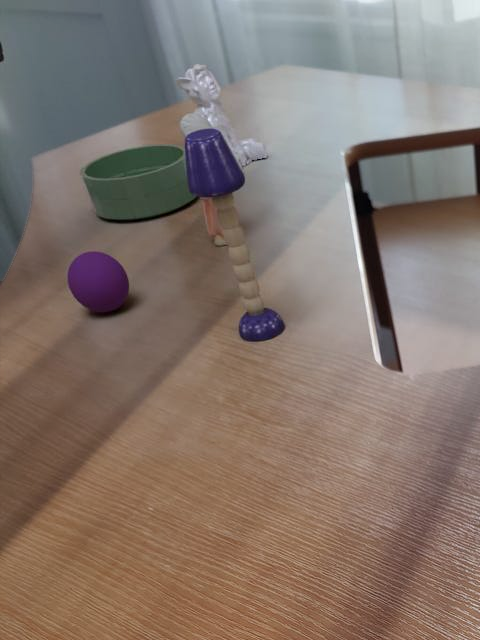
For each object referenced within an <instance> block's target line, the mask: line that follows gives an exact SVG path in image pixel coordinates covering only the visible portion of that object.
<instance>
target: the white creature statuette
mask: <svg viewBox="0 0 480 640" xmlns="http://www.w3.org/2000/svg"><path fill="white" fill-rule="evenodd" d="M176 84H177V86H178V87H179V88H180V89H182V90H184V92H186V94H187V96H188V97H189V99H190V100H191V101H192V103H194V105H196V108H195V109H194V111H193V113H196V114H199V115H201V116H202V117H204V118H206V119H207V120H208V121H209V123H210V124H211V126H212V127H213V128H214V129H217V130H219V131H220V132H221V133H222V135H223V136H224V138H225V140H226V142H227V144H228V146H229V147H230V149H231V151H232V153H233V155H234V157H235V158H236V160H237V162H238V164H239V166H240V168H241V170H242V171H243V167H246V165H247V166H248V165H249V164H250V163H252V162H253V161H252V160H254V161H258V160H257V159H262V158H266V157H267V158H268V156H267V150H266V149H267V148H266V145H265V143H264V142H263V141H258V140H256V139H254V138H252V137H249V138H243V139H240V140H239V138H237V132H236V131H235V130H234V128H233V127H232V122H231V121H230V118H229V117H228V114H227V112H226V110H225V109H224V108H223V104H222V102H221V91H222V88H221V86H220V85H219V82H218V81H217V79H216V78H215V75H214V73H213V72H212V71H211V70H209V69H208V68H207V65H206V64H199V63H196V64H194V65H193V67H190V68H188V69H187V70H186V71H185V73H184V77H177V79H176ZM262 160H263V159H262Z"/></svg>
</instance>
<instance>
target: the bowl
mask: <svg viewBox="0 0 480 640" xmlns="http://www.w3.org/2000/svg"><path fill="white" fill-rule="evenodd" d="M79 176H80V179H81V181H82V183H83V186H84V188H85V191H86V193H87V196H88V199H89V201H90V204H91V207H92V209H93V212H94V213H95V214H96V215H97V216H98V217H100V218H103V219H106V220H119V221H136V220H137V221H138V220H144V219H148V218H154V217H158V216H162V215H166V214H168V213H171V212H173V211H176V210H178V209H180V208H182V207H184V206H186V205H187V204H189V203H190V202H192V201H194V200H195V199H196V198H197V196H194V195H193V194H192V193H191V192H190V190H189V187H188V180H187V169H186V156H185V146H182V145H179V144H169V143H168V144H167V143H165V144H164V143H161V144H160V143H159V144H158V143H157V144H146V145H141V146H135V147H129V148H125V149H121V150H117V151H113V152H111V153H107V154H105V155H102V156H99V157H96V159H93V160H91V161H89V162H87V163H86V164H85V165H84V166H82V167H81V169H80V171H79Z"/></svg>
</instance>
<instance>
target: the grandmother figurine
mask: <svg viewBox="0 0 480 640" xmlns="http://www.w3.org/2000/svg"><path fill="white" fill-rule="evenodd" d="M201 129H214V128H213V127H212V126H211V124H210V123H209V121H208V120H207V119H206V118H204V117H202V116H201V115H199V114H196V113H194V112H191V113H187V114H185V115H183V116H182V118H181V119H180V122H179V130H180V133H182V135H183V137H184V139H185V138H186V136H187V135H188V134H190V133H192V132H194V131H197V130H201ZM199 198H200V200H201V201H202V208H203V215H204V221H205V226H206V232H207V235H208V236H209V237H212V236H214V239H213V240H214V241H213V242H214V246H217V247H222V246H228V245H227V243H226V242H225V240H224V237H223V227H222V226H221V225H220V223H219V221H218V218H217V208H216V207H215V206H214V204H213V202H212V199H211V197H210V198H205V197H199Z"/></svg>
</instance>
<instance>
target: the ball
mask: <svg viewBox="0 0 480 640" xmlns="http://www.w3.org/2000/svg"><path fill="white" fill-rule="evenodd" d="M67 284H68V288H69V290H70V293H71V294H72V295H73V298H74V299H75V300H76V302H78V303H79V304H80V305H81V306H83V307H84V308H86V309H88V310H90V311H92V312H96V313H110V312H113V311H115V310H118V309H119V308H120V307H121V306H123V305H124V304H125V302H126V300H127V298H128V296H129V292H130V280H129V277H128V273H127V272H126V270H125V268H124V267H123V265H122V264H121V262H119V261H118V260H117V259H116V258H115V257H113V256H111V255H110V254H107V253H105V252H102V251H97V250H93V251H91V250H90V251H85V252H83V253H80V254H79V255H77V256H76V257H75V258H74V259H73V260H72V261H71V263H70V265H69V266H68V270H67Z"/></svg>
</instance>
